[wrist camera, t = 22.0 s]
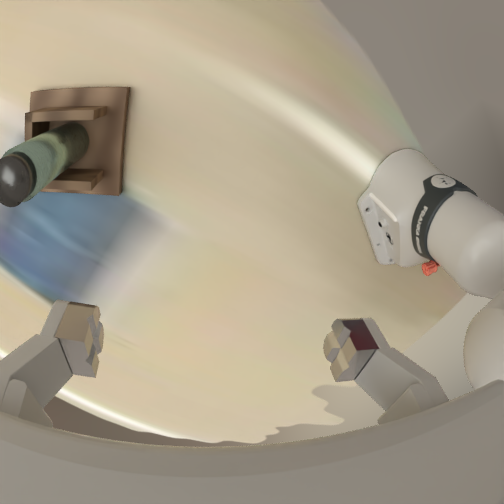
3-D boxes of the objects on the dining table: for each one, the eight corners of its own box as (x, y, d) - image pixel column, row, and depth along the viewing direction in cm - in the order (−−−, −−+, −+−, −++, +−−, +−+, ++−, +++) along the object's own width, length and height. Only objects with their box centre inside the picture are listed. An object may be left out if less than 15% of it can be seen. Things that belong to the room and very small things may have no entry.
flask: (96, 135, 33) (38, 173, 19) (76, 168, 34) (19, 221, 21) (66, 114, 30) (-2, 142, 17) (48, 148, 32) (-18, 191, 19)
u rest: (130, 87, 31) (116, 88, 26) (121, 191, 39) (109, 210, 34) (36, 91, 28) (11, 95, 23) (35, 187, 36) (15, 204, 30)
